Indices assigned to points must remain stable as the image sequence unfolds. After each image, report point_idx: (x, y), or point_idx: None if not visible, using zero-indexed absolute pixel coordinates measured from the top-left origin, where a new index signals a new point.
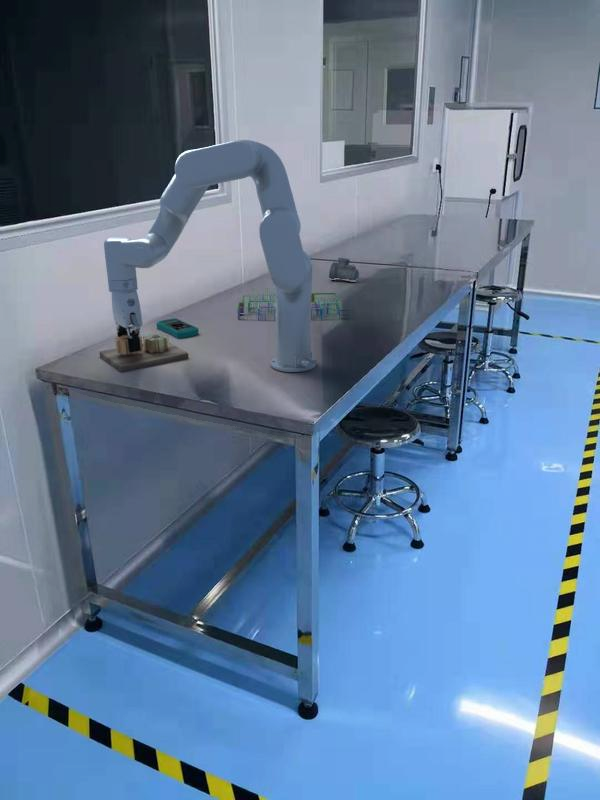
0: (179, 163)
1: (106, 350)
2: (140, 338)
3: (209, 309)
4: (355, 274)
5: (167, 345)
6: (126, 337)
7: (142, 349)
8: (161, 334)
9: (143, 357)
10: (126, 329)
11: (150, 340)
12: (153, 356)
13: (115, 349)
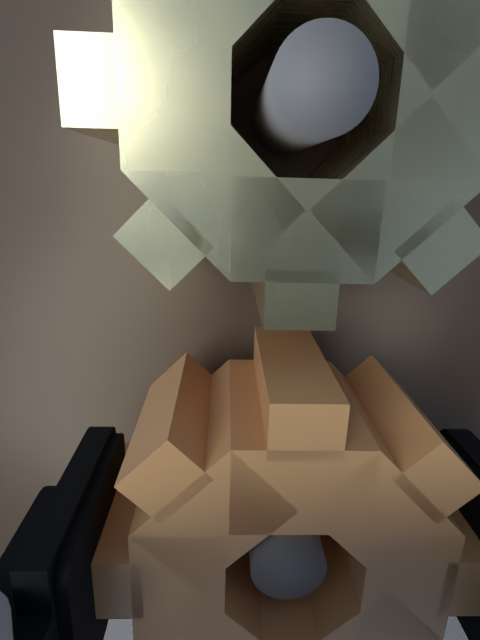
0: None
1: (2, 553)
2: (454, 464)
3: None
4: None
5: None
6: (225, 590)
7: (380, 364)
8: None
9: (429, 363)
10: (6, 608)
11: (453, 273)
12: (476, 267)
13: (10, 483)
